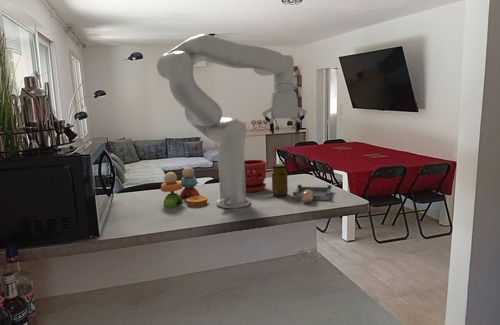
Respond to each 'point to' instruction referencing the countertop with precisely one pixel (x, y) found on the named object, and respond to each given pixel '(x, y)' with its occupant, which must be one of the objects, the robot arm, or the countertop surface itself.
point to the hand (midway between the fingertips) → (284, 133)
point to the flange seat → (312, 193)
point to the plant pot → (255, 175)
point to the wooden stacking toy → (188, 184)
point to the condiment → (280, 182)
